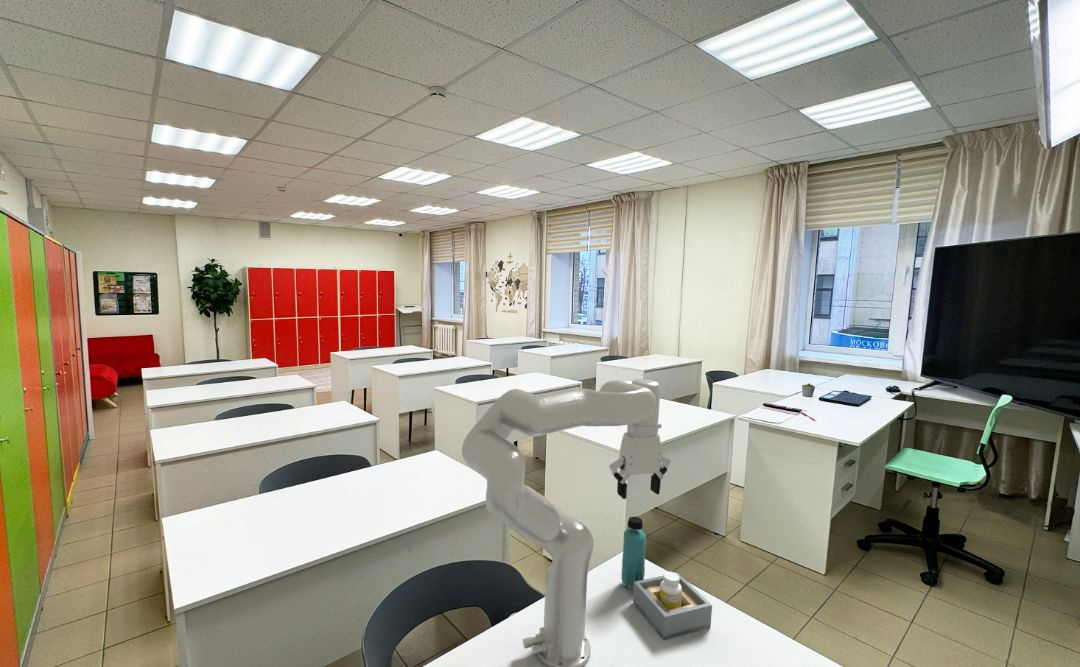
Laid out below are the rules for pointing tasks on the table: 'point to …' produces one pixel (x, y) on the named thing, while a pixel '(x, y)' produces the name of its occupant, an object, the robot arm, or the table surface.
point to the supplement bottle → (670, 591)
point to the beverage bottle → (633, 552)
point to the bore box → (676, 620)
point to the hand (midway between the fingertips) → (638, 494)
